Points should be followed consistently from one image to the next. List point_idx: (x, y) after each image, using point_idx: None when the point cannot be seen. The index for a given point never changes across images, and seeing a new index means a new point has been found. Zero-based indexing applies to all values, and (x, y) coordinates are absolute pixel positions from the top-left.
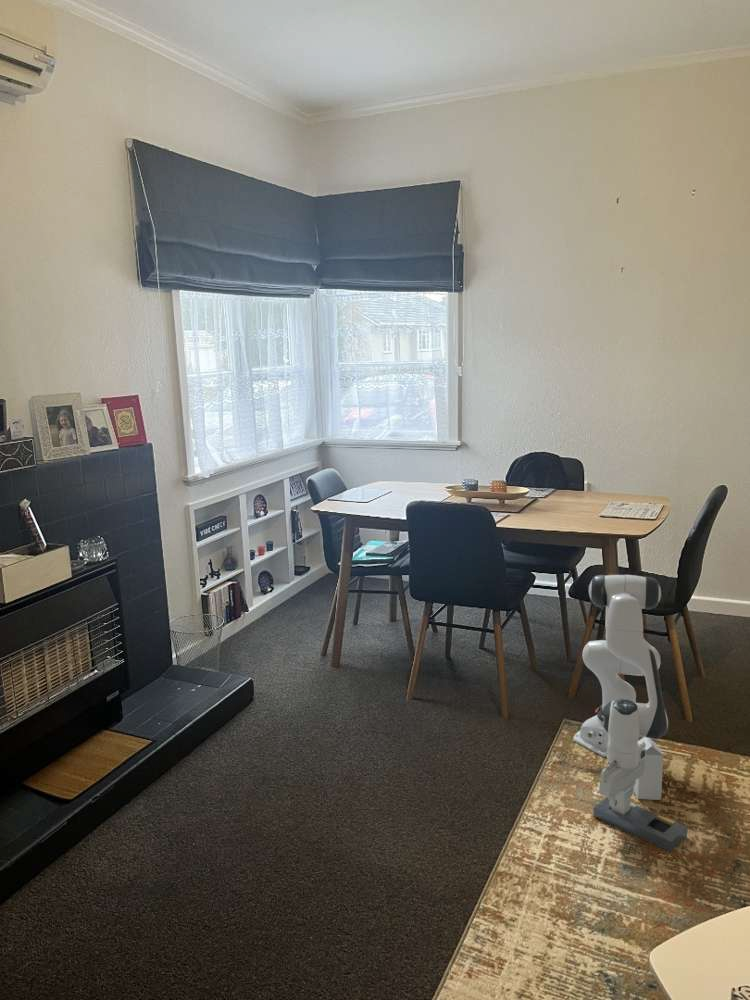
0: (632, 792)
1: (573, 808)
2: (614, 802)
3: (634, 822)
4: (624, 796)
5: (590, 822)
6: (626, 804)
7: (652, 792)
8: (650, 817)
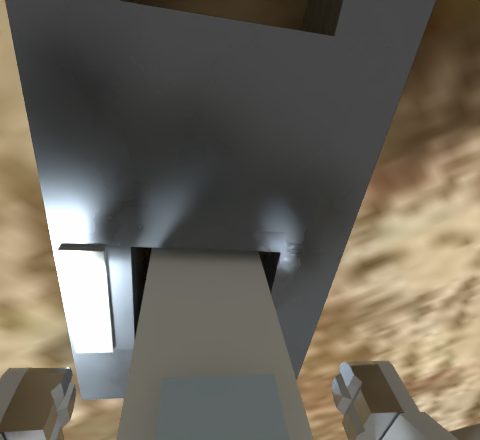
0: (11, 381)
1: None
2: (415, 405)
3: (341, 153)
4: (302, 422)
5: (337, 327)
6: (223, 313)
7: None
8: (149, 54)
